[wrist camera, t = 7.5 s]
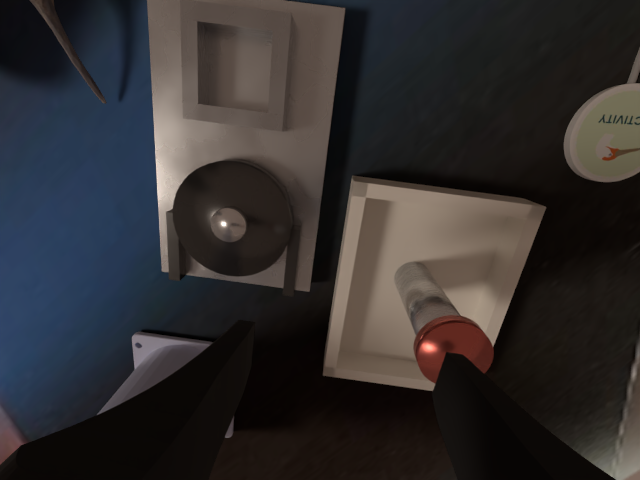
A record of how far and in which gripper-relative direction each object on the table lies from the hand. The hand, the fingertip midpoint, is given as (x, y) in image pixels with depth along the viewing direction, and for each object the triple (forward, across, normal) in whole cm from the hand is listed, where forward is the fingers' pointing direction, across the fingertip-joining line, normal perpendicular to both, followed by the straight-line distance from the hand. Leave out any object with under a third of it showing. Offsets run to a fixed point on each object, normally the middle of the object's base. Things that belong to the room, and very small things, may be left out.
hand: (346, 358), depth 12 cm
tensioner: (+10, +7, -6) cm, 13 cm away
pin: (+10, -5, +1) cm, 11 cm away
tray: (+10, -5, +1) cm, 11 cm away
